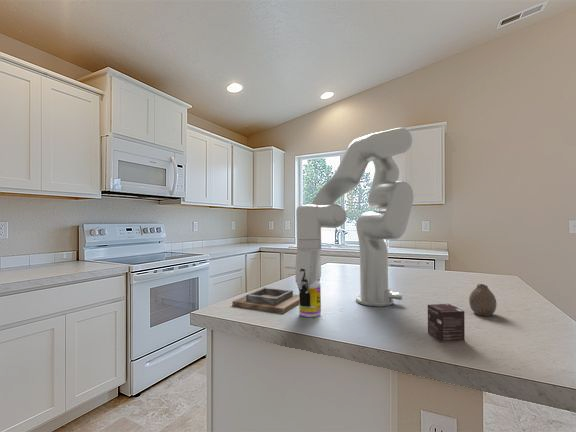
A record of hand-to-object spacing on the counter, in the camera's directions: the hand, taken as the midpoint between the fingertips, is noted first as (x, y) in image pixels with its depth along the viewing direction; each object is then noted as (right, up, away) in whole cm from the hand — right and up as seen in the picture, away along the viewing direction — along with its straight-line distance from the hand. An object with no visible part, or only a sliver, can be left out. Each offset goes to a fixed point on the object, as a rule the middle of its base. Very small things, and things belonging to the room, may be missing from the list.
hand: (309, 302), depth 93 cm
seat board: (-13, -4, +14) cm, 19 cm away
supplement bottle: (0, -4, 0) cm, 4 cm away
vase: (+52, -3, -2) cm, 52 cm away
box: (+32, -3, -19) cm, 37 cm away
